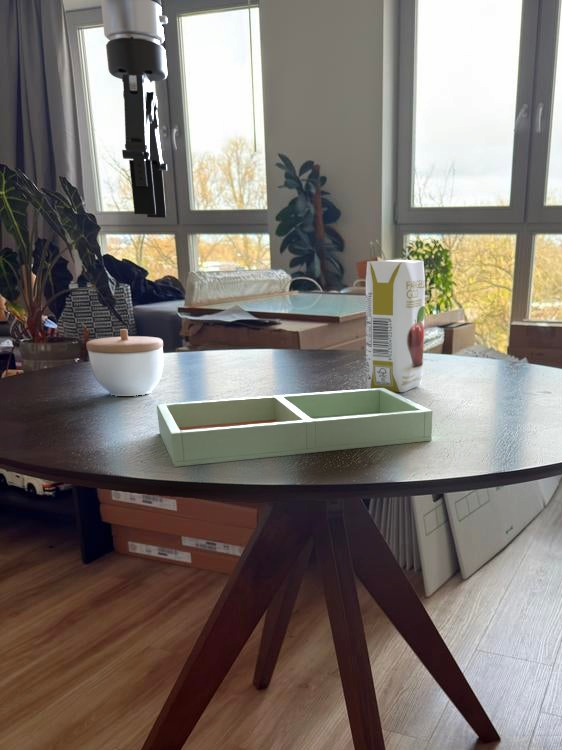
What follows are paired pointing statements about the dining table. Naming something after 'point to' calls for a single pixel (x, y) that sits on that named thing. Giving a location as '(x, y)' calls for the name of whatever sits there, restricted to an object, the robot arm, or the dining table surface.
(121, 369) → the trinket box
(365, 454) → the dining table surface
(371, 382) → the juice carton
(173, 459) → the divided tray
